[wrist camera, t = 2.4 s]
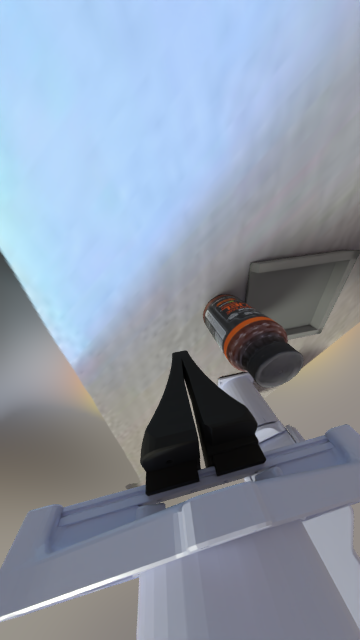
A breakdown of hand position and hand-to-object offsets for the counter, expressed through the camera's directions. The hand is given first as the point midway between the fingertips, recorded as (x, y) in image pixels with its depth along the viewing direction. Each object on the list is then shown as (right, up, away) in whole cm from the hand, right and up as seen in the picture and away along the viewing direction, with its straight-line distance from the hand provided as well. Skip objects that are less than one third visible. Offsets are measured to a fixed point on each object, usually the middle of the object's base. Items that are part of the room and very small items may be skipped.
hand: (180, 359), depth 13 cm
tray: (+17, +7, +9) cm, 20 cm away
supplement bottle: (+6, +5, +8) cm, 11 cm away
